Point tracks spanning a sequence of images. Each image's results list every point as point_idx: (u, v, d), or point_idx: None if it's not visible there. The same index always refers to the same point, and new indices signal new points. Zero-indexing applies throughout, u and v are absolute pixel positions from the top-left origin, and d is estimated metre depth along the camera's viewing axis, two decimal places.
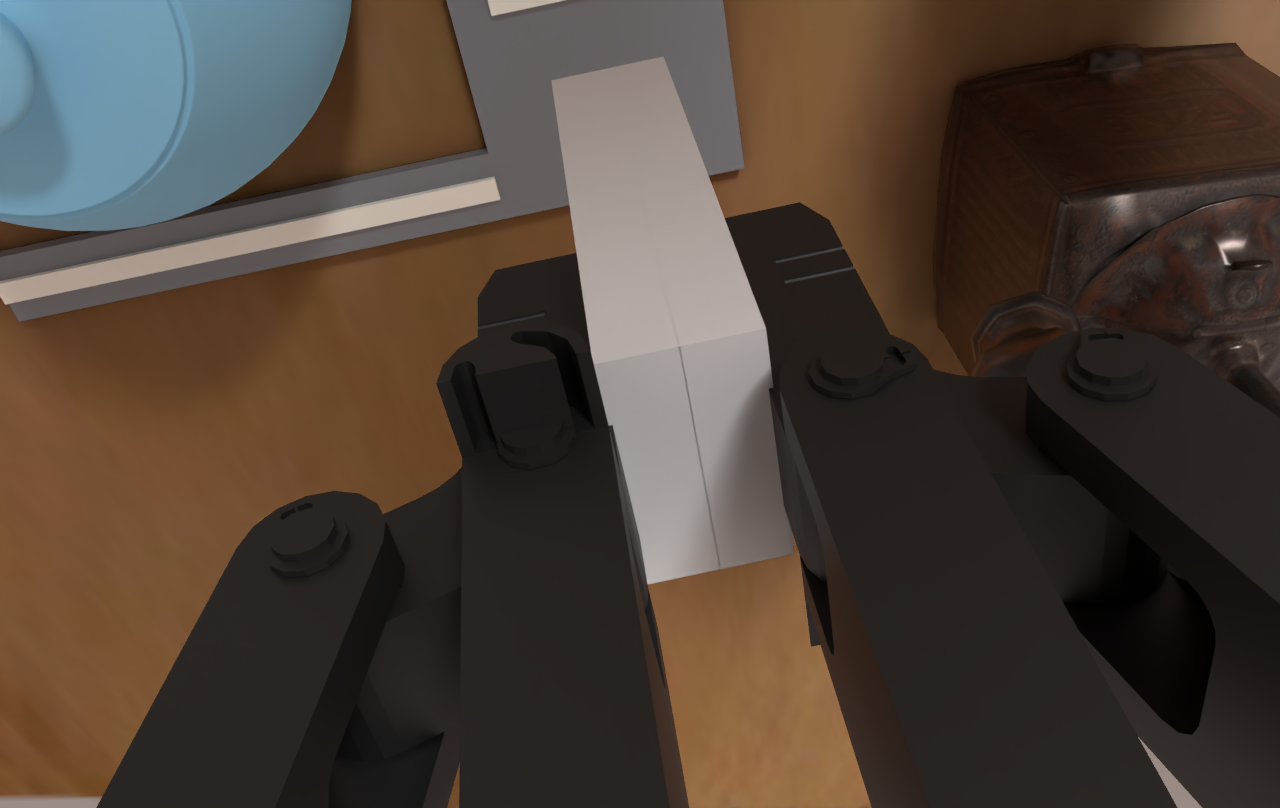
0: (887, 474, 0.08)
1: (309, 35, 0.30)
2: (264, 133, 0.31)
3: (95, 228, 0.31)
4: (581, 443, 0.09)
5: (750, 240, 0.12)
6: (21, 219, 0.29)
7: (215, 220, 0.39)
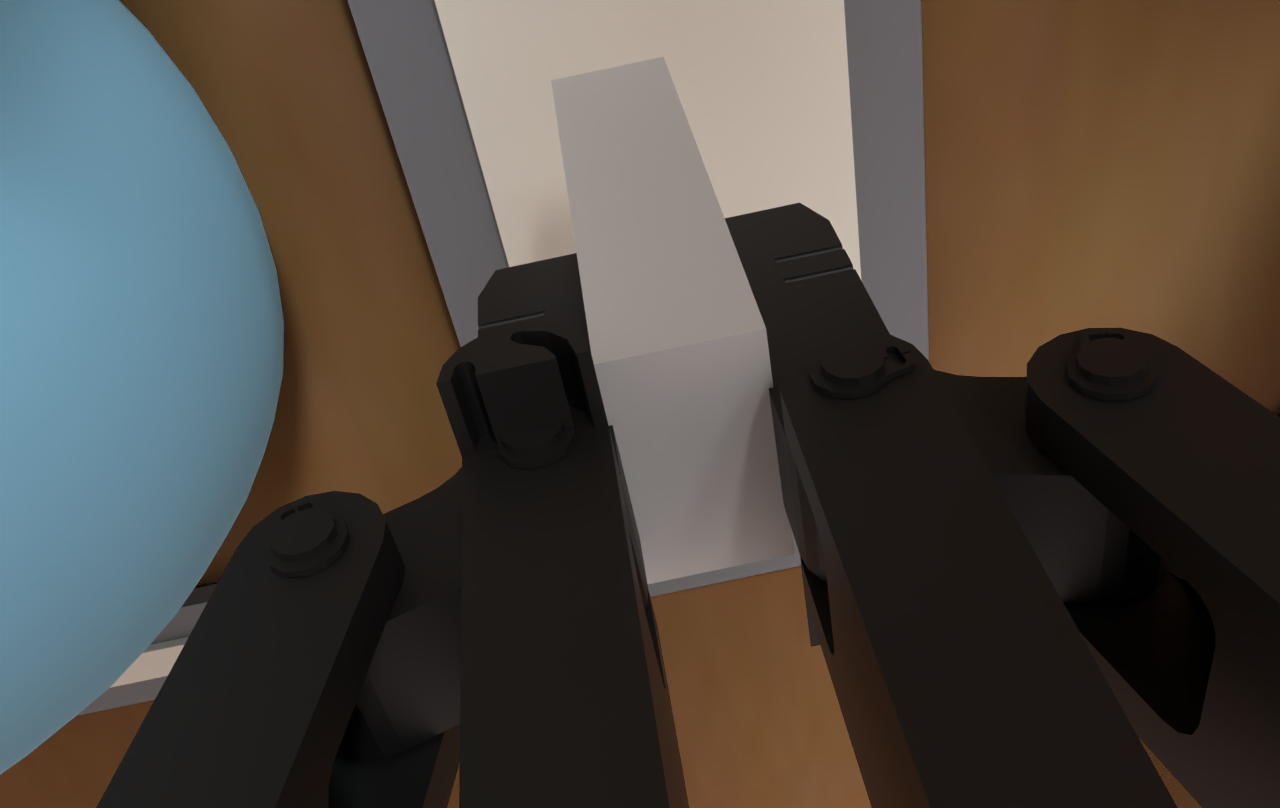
0: (887, 474, 0.08)
1: (187, 502, 0.15)
2: (101, 678, 0.16)
3: None
4: (581, 443, 0.09)
5: (750, 240, 0.12)
6: None
7: None
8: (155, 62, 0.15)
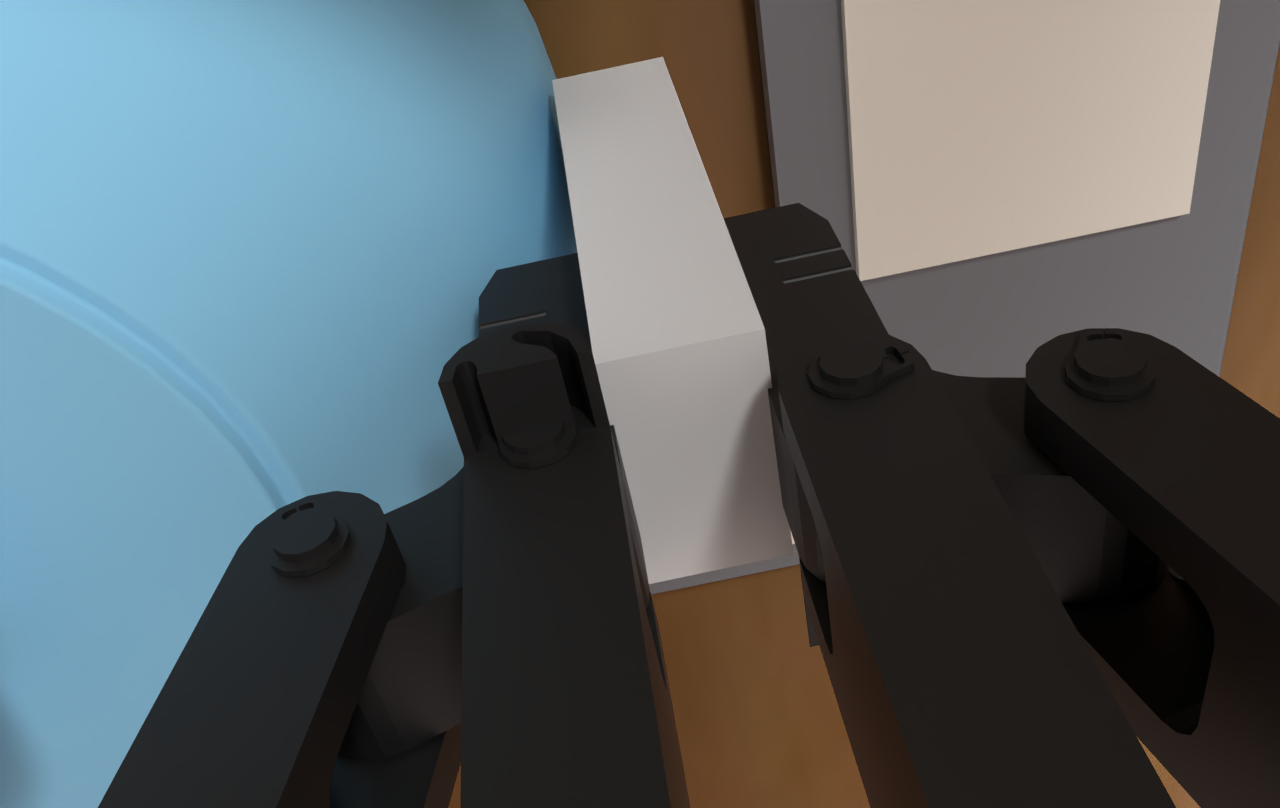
0: (886, 474, 0.08)
1: None
2: None
3: None
4: (582, 443, 0.09)
5: (749, 240, 0.12)
6: None
7: None
8: None
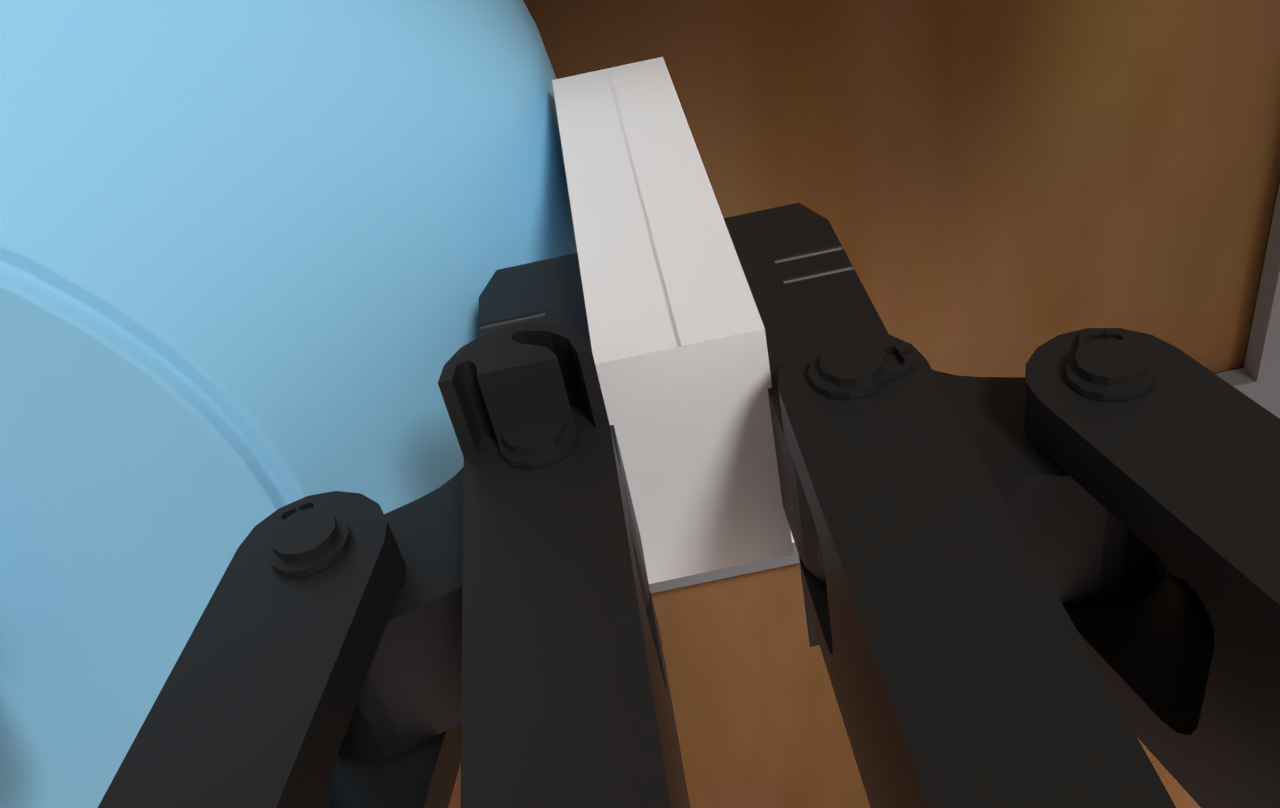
0: (886, 474, 0.08)
1: None
2: None
3: None
4: (582, 443, 0.09)
5: (749, 240, 0.12)
6: None
7: None
8: None
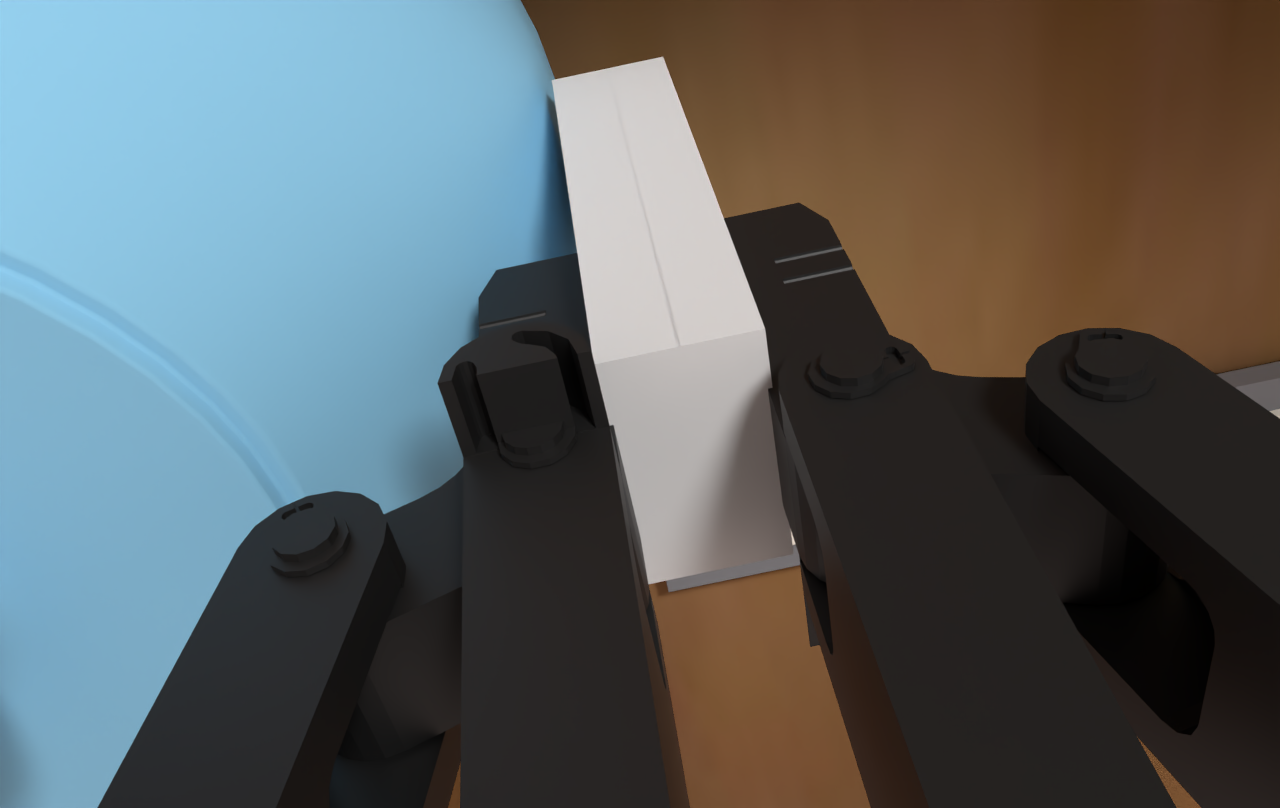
0: (886, 474, 0.08)
1: None
2: None
3: None
4: (582, 443, 0.09)
5: (749, 240, 0.12)
6: None
7: None
8: None
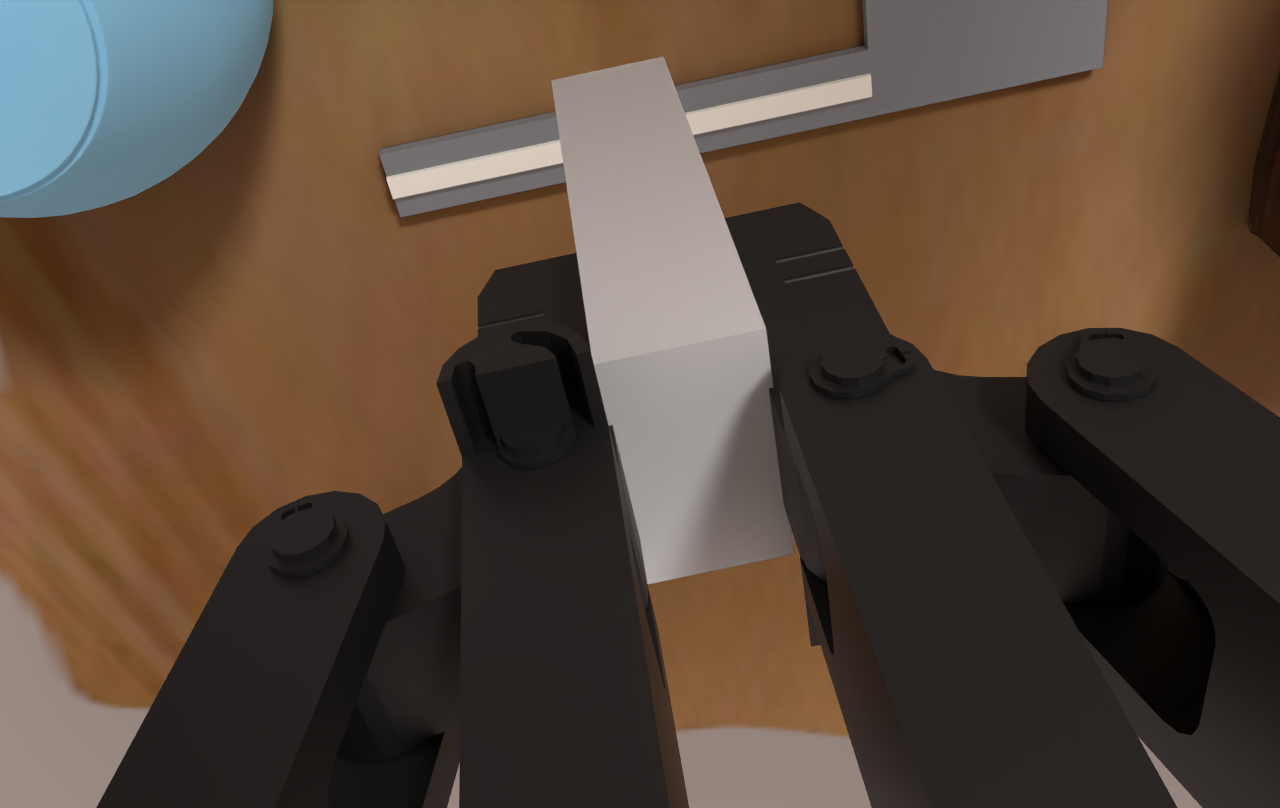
0: (887, 474, 0.08)
1: (226, 36, 0.32)
2: (181, 128, 0.33)
3: (19, 215, 0.33)
4: (581, 443, 0.09)
5: (750, 240, 0.12)
6: None
7: None
8: None
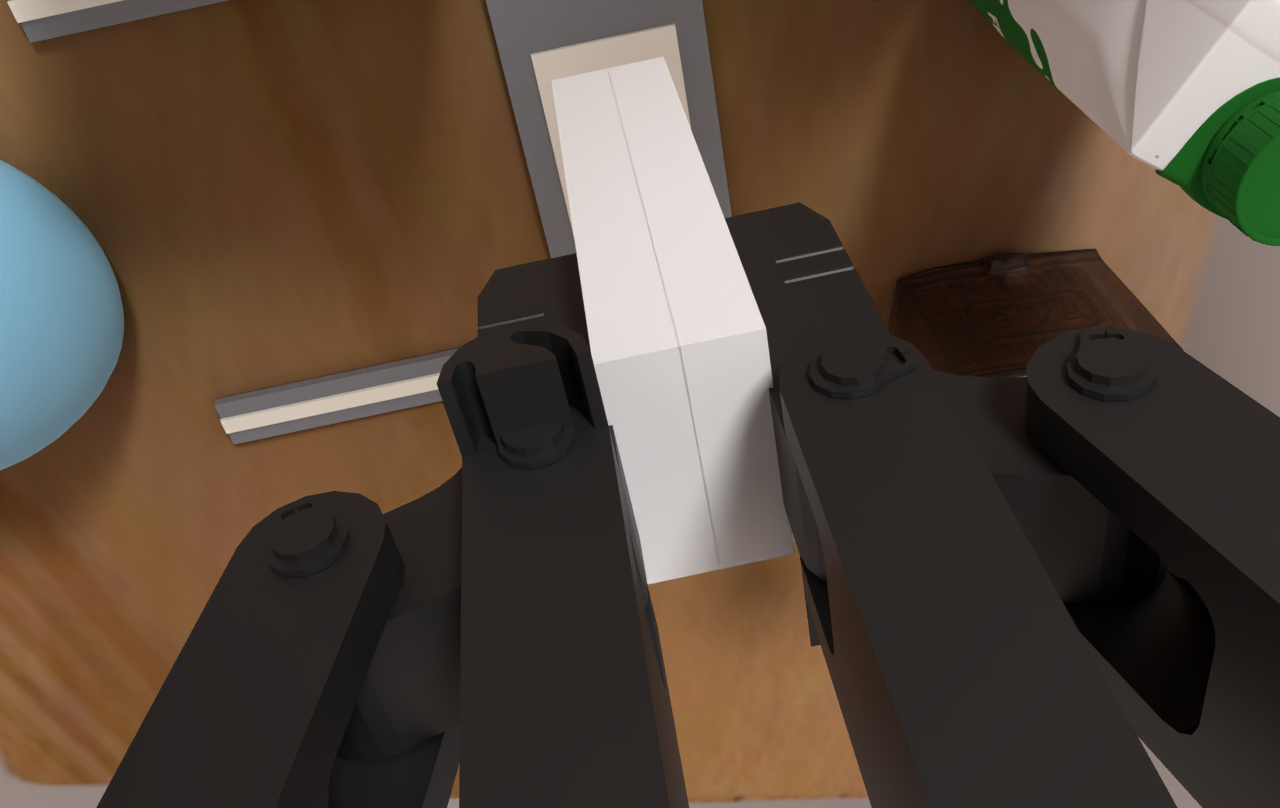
0: (886, 474, 0.08)
1: (82, 367, 0.47)
2: (52, 426, 0.48)
3: None
4: (581, 443, 0.09)
5: (750, 240, 0.12)
6: None
7: (377, 376, 0.55)
8: (74, 223, 0.47)
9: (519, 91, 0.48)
